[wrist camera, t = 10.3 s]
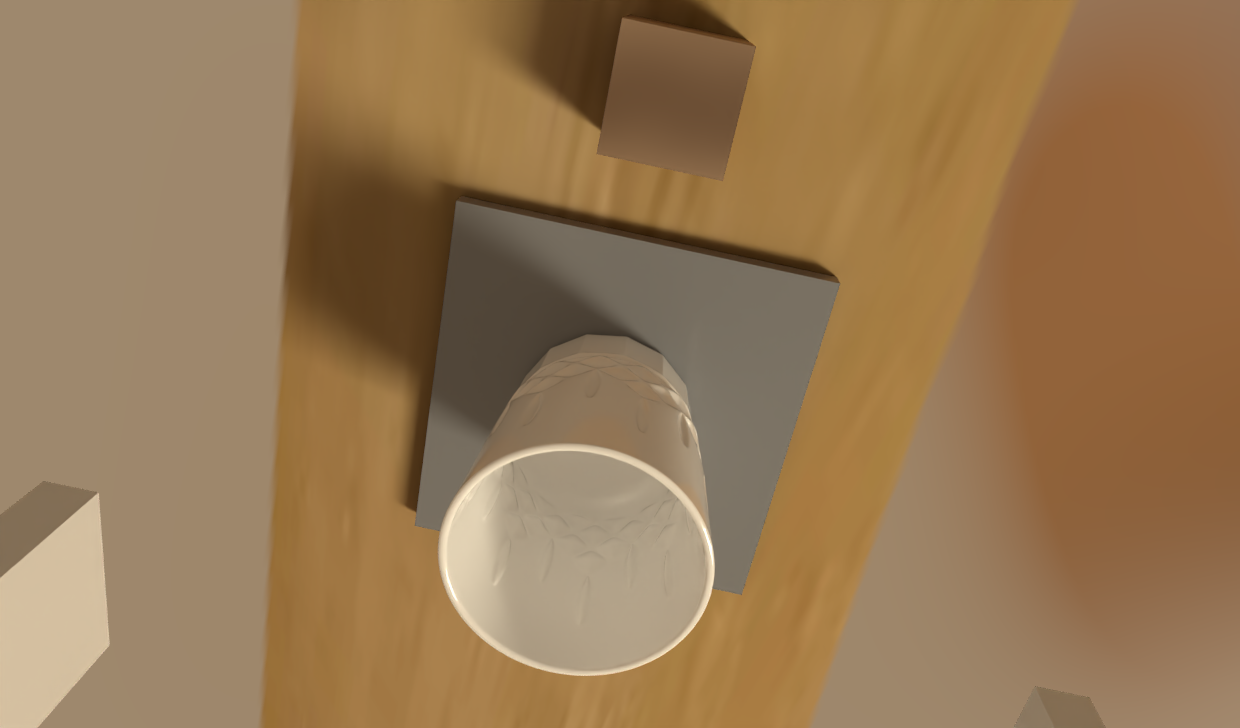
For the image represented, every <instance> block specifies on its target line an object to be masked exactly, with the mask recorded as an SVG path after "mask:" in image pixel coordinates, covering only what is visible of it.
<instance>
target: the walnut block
mask: <svg viewBox="0 0 1240 728" xmlns="http://www.w3.org/2000/svg"><path fill="white" fill-rule="evenodd" d="M755 49H756V46H754V45H753V44H752V43H751V42H749V41H748V40H744V39H740V38H735V37H731V36H726V35H721V34H717V33H712V32H708V31H703V30H698V29H694V28H689V27H684V26H680V25H675V24H671V23H666V22H661V21H657V20H652V19H648V18H643V17H638V16H634V15H628V16H625V17H623V18H622V21H621V26H620V31H619V37H618V42H617V47H616V53H615V58H614V64H613V69H612V74H611V80H610V85H609V90H608V96H607V101H606V107H605V112H604V117H603V123H602V128H601V133H600V139H599V144H598V150H597V154H599V155H604V156H609V157H613V158H618V159H623V160H627V161H632V162H637V163H641V164H646V165H651V166H655V167H660V168H665V169H669V170H674V171H679V172H683V173H688V174H693V175H697V176H702V177H707V178H711V179H716V180H720V181H723V179H724V175H725V171H726V166H727V162H728V158H729V154H730V150H731V146H732V142H733V138H734V134H735V130H736V126H737V122H738V118H739V114H740V110H741V106H742V102H743V97H744V93H745V89H746V85H747V81H748V77H749V73H750V69H751V65H752V61H753V57H754V53H755Z"/></svg>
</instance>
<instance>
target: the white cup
mask: <svg viewBox="0 0 1240 728" xmlns="http://www.w3.org/2000/svg"><path fill="white" fill-rule="evenodd" d="M438 562H439V569H440V574H441V578H442V581H443V584H444V587H445V590H446V592H447V594H448V596H449V598H450V600H451V602H452V604H453V606H454V607H455V609H456V610H457V612H458V613H459V615H460V616H461V617H462V619H463V620H464V621H465V622H466V624H467V625H468V626H469V627H470V628H471V629H472V630H473V631H474V632H475V633H476V634H477V635H478V636H479V637H480V638H482V639H483V640H484V641H485V642H487V643H488V644H489V645H491V646H492V647H493V648H495V649H496V650H498V651H500V652H501V653H503V654H505V655H506V656H508V657H510V658H512V659H514V660H516V661H519V662H521V663H523V664H526V665H528V666H531V667H534V668H537V669H541V670H545V671H549V672H553V673H559V674H566V675H578V676H594V675H605V674H612V673H618V672H622V671H626V670H630V669H633V668H636V667H639V666H641V665H644V664H646V663H648V662H651V661H653V660H655V659H657V658H658V657H660V656H662V655H663V654H665V653H666V652H668V651H669V650H671V649H672V648H673V647H675V646H676V645H677V644H678V643H680V642H681V641H682V640H683V639H684V638H685V637H686V636H687V635H688V634H689V633H690V631H691V630H692V629H693V628H694V626H695V625H696V624H697V622H698V621H699V619H700V618H701V616H702V614H703V612H704V610H705V608H706V606H707V604H708V601H709V598H710V595H711V592H712V587H713V582H714V573H715V561H714V551H713V544H712V536H711V528H710V520H709V512H708V503H707V494H706V485H705V476H704V471H703V467H702V461H701V453H700V448H699V443H698V436H697V431H696V428H695V426H694V424H693V421H692V415H691V410H690V404H689V398H688V393H687V387H686V385H685V383H684V382H683V381H682V379H681V378H680V377H679V376H678V374H677V373H676V372H675V370H674V369H673V368H672V366H671V365H670V364H669V362H668V361H667V360H666V359H665V357H664V356H663V355H662V354H660V353H658V352H656V351H654V350H652V349H650V348H648V347H646V346H644V345H643V344H641V343H639V342H637V341H635V340H633V339H631V338H629V337H626V336H610V335H592V334H586V335H583V336H581V337H578V338H576V339H573V340H571V341H568V342H566V343H563V344H561V345H558V346H555V347H553V348H551V349H549V350H548V352H547V353H546V354H545V355H544V356H543V357H542V358H541V359H540V360H539V362H538V363H537V364H536V365H535V366H534V367H533V368H532V369H531V370H530V372H529V373H528V374H527V375H526V376H525V378H524V379H523V381H522V383H521V385H520V387H519V388H518V389H517V391H516V392H515V393H514V395H513V396H512V398H511V399H510V401H509V402H508V404H507V405H506V407H505V409H504V410H503V412H502V414H501V415H500V417H499V418H498V420H497V422H496V423H495V425H494V426H493V428H492V430H491V432H490V433H489V435H488V437H487V439H486V441H485V442H484V444H483V446H482V448H481V450H480V452H479V453H478V455H477V457H476V459H475V461H474V462H473V464H472V466H471V468H470V470H469V471H468V473H467V475H466V477H465V479H464V480H463V482H462V484H461V486H460V487H459V489H458V491H457V493H456V494H455V496H454V498H453V500H452V501H451V503H450V505H449V507H448V509H447V511H446V514H445V516H444V519H443V522H442V525H441V529H440V534H439V541H438Z"/></svg>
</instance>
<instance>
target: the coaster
mask: <svg viewBox="0 0 1240 728" xmlns="http://www.w3.org/2000/svg"><path fill="white" fill-rule="evenodd" d="M839 286H840V282H839V280H838V279H837V277H834V276H830V275H825V274H821V273H816V272H811V271H807V270H802V269H797V268H793V267H788V266H784V265H779V264H774V263H770V262H765V261H760V260H756V259H751V258H747V257H742V256H737V255H733V254H728V253H723V252H719V251H714V250H709V249H705V248H700V247H696V246H691V245H686V244H682V243H677V242H672V241H668V240H663V239H659V238H654V237H649V236H645V235H640V234H635V233H631V232H626V231H622V230H617V229H612V228H608V227H603V226H598V225H594V224H589V223H585V222H580V221H575V220H571V219H566V218H561V217H557V216H552V215H547V214H543V213H538V212H534V211H529V210H524V209H520V208H515V207H510V206H506V205H501V204H497V203H492V202H487V201H483V200H478V199H473V198H469V197H464V196H461V197H460V198H459V199H458V200H457V201H456V207H455V215H454V222H453V230H452V238H451V246H450V254H449V262H448V269H447V277H446V285H445V293H444V301H443V309H442V317H441V324H440V332H439V340H438V348H437V356H436V364H435V371H434V379H433V387H432V395H431V403H430V411H429V419H428V426H427V434H426V442H425V450H424V458H423V466H422V473H421V481H420V489H419V497H418V505H417V513H416V521H415V526H418V527H423V528H428V529H433V530H437V531H440V529H441V525H442V522H443V519H444V516H445V514H446V511H447V509H448V507H449V505H450V503H451V501H452V500H453V498H454V496H455V494H456V493H457V491H458V489H459V487H460V486H461V484H462V482H463V480H464V479H465V477H466V475H467V473H468V471H469V470H470V468H471V466H472V464H473V462H474V461H475V459H476V457H477V455H478V453H479V452H480V450H481V448H482V446H483V444H484V442H485V441H486V439H487V437H488V435H489V433H490V432H491V430H492V428H493V426H494V425H495V423H496V422H497V420H498V418H499V417H500V415H501V414H502V412H503V410H504V409H505V407H506V405H507V404H508V402H509V401H510V399H511V398H512V396H513V395H514V393H515V392H516V391H517V389H518V388H519V387H520V385H521V383H522V381H523V379H524V378H525V376H526V375H527V374H528V373H529V372H530V370H531V369H532V368H533V367H534V366H535V365H536V364H537V363H538V362H539V360H540V359H541V358H542V357H543V356H544V355H545V354H546V353H547V352H548V350H549V349H551V348H553V347H555V346H558V345H561V344H563V343H566V342H568V341H571V340H573V339H576V338H578V337H581V336H583V335H586V334H592V335H610V336H626V337H629V338H631V339H633V340H635V341H637V342H639V343H641V344H643V345H644V346H646V347H648V348H650V349H652V350H654V351H656V352H658V353H660V354H662V355H663V356H664V357H665V359H666V360H667V361H668V362H669V364H670V365H671V366H672V368H673V369H674V370H675V372H676V373H677V374H678V376H679V377H680V378H681V379H682V381H683V382H684V383H685V385H686V387H687V393H688V398H689V404H690V410H691V415H692V421H693V424H694V426H695V428H696V431H697V436H698V443H699V448H700V453H701V461H702V467H703V471H704V476H705V485H706V494H707V503H708V512H709V520H710V528H711V536H712V544H713V551H714V561H715V573H714V582H713V587H712V589H717V590H722V591H726V592H731V593H736V594H741V595H742V592H743V589H744V585H745V582H746V579H747V576H748V573H749V570H750V566H751V563H752V560H753V557H754V554H755V551H756V547H757V544H758V541H759V538H760V535H761V532H762V529H763V525H764V522H765V519H766V516H767V513H768V510H769V506H770V503H771V500H772V497H773V494H774V491H775V488H776V484H777V481H778V478H779V475H780V472H781V469H782V465H783V462H784V459H785V456H786V453H787V450H788V447H789V443H790V440H791V437H792V434H793V431H794V428H795V424H796V421H797V418H798V415H799V412H800V409H801V406H802V402H803V399H804V396H805V393H806V390H807V387H808V383H809V380H810V377H811V374H812V371H813V368H814V365H815V361H816V358H817V355H818V352H819V349H820V346H821V342H822V339H823V336H824V333H825V330H826V327H827V324H828V320H829V317H830V314H831V311H832V308H833V305H834V301H835V298H836V295H837V292H838V289H839Z"/></svg>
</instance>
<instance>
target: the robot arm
mask: <svg viewBox="0 0 1240 728" xmlns="http://www.w3.org/2000/svg"><path fill="white" fill-rule="evenodd" d="M109 645H110V644H109V631H108V616H107V603H106V589H105V575H104V561H103V548H102V534H101V521H100V506H99V493H98V492H94V491H89V490H84V489H79V488H74V487H69V486H65V485H60V484H55V483H50V482H46V481H43V482H42V483H41V484H39V485H38V486H37V487H35V488H34V489H33V490H32V491H30V492H29V493H28V494H26V495H25V496H24V497H23V498H21V499H20V500H19V501H17V502H16V503H15V504H14V505H12V506H11V507H10V508H9V509H7V510H6V511H5V512H3V513H2V514H1V515H0V728H37V727H38V726H39V725H40V724H41V723H42V722H43V721H44V719H45V718H46V717H47V716H48V715H49V714H50V712H51V711H52V710H53V709H54V708H55V707H56V706H57V704H58V703H59V702H60V701H61V700H62V699H63V698H64V697H65V695H66V694H67V693H68V692H69V691H70V690H71V689H72V687H73V686H74V685H75V684H76V683H77V682H78V681H79V679H80V678H81V677H82V676H83V675H84V674H85V672H86V671H87V670H88V669H89V668H90V667H91V666H92V664H93V663H94V662H95V661H96V660H97V659H98V658H99V656H100V655H101V654H102V653H103V652H104V651H105V650H106V648H107V647H108V646H109ZM1014 728H1106V727H1105V725H1104V724H1103V722H1102V720H1101V718H1100V716H1099V714H1098V712H1097V711H1096V709H1095V707H1094V705H1093V703H1092V701H1091V699H1090V698H1089V697H1085V696H1079V695H1074V694H1070V693H1065V692H1060V691H1056V690H1051V689H1046V688H1041V687H1036V686H1035V688H1034V689H1033V691H1032V693H1031V695H1030V697H1029V699H1028V701H1027V703H1026V705H1025V707H1024V708H1023V710H1022V712H1021V714H1020V716H1019V718H1018V720H1017V722H1016V724H1015V726H1014Z"/></svg>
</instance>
